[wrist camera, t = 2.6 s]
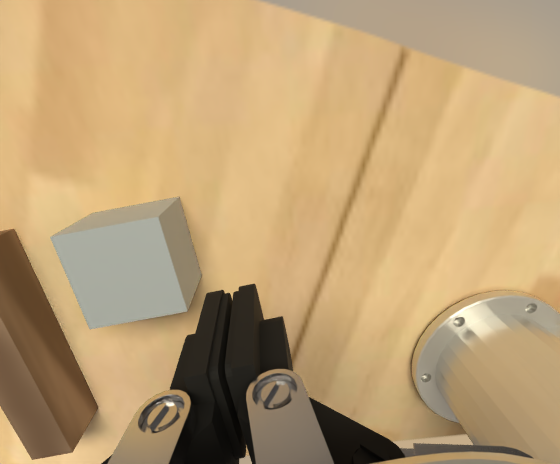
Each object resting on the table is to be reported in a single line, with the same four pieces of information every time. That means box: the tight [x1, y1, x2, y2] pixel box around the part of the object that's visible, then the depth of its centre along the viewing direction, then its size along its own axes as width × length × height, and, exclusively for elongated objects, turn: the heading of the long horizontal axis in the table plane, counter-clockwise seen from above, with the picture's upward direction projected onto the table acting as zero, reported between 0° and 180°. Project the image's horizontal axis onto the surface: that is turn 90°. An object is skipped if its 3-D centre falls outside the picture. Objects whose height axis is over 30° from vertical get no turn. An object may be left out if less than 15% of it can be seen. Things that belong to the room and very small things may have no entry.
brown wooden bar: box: [0, 229, 98, 460], centre depth 24 cm, size 3×16×4 cm, turn 11°
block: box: [50, 197, 202, 329], centre depth 22 cm, size 6×6×5 cm
